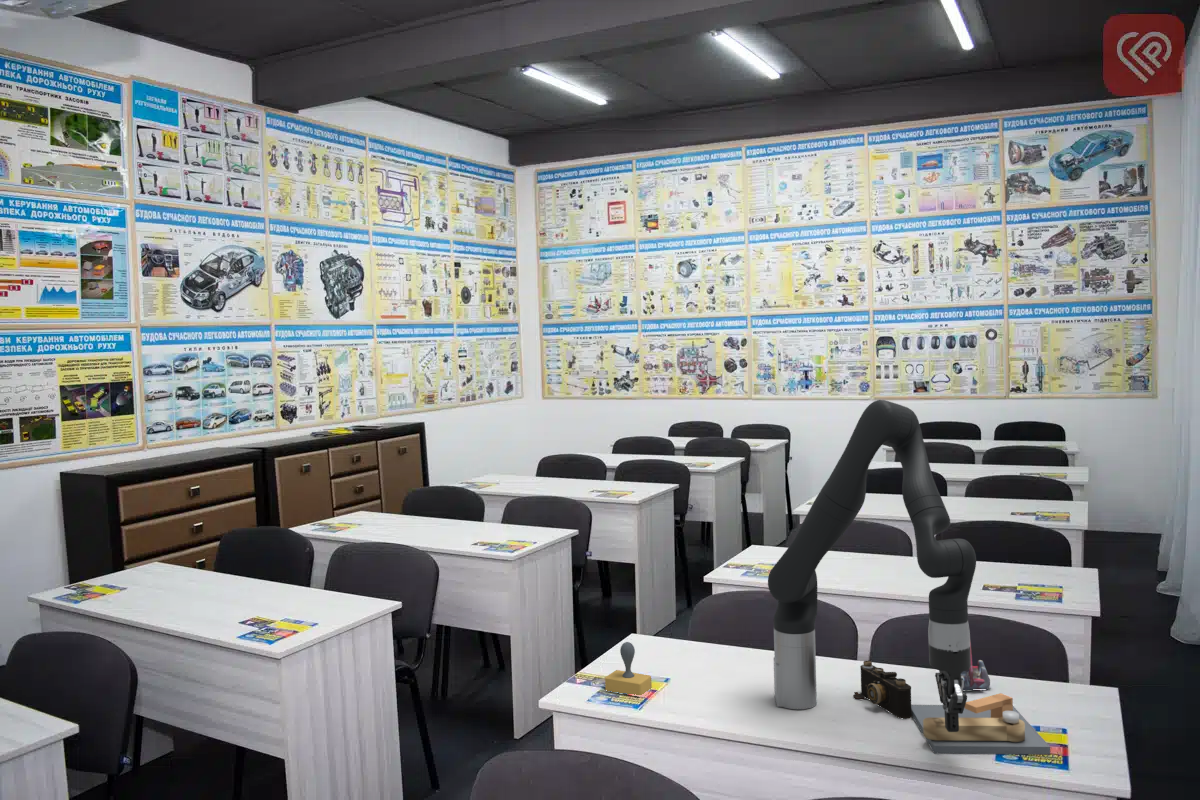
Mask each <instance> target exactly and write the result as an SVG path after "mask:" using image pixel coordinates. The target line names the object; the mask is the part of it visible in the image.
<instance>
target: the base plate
mask: <svg viewBox="0 0 1200 800" xmlns="http://www.w3.org/2000/svg"><path fill="white" fill-rule="evenodd" d="M911 714H912V717H911V718H912V719H913V721H914V722H915V724H916V725H917V727H918V729H919V730H920V732H921V733H922V735H923V720H924V719H925V718H945V710H944V709H943V704H911ZM958 715H959V718H991V710H987V711H984V712H980V713H974V712H972V711H970V710H967V709H965V707H964V711H963V713H962V714H960V713H958ZM1019 719H1020V720H1022V721H1024V723H1025V739H1024V740H1023V741H1020V742H1011V741H972V740H931V739H927V738H925V737H924V738H925V740H926V742H927V744H928V745H929V747H930V750H932V752H933V754H940V755H941V754H943V755H944V754H947V755H950V754H953V755H954V754H959V755H961V754H965V755H969V754H970V755H1051V746H1050V745H1049V744H1048V743H1047V741H1046V739H1044V738H1043V737H1042V736H1041V735H1040V734H1039V733H1038V732H1037V730H1035V728H1034V727H1033V726H1032V725H1031V724H1030V723H1029V721H1028V720H1027V719H1026V718H1025V717H1024V716H1023V715H1022V713H1020V712H1019V711H1018V709H1017V708H1016V707H1015V706H1014V705H1013V711H1003V721H1005V722H1007V723H1018V722H1019Z"/></svg>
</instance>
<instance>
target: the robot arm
mask: <svg viewBox="0 0 1200 800" xmlns="http://www.w3.org/2000/svg"><path fill="white" fill-rule="evenodd" d="M882 446H885V447H889V448H892V450H893V451H894V452H895V453H894V454H896V456H897V458H898V460H899V461H900V464H901V467H902V486H901V487H902V488H901V491H902V492H901V493H902V499H903V504H904V506H905V508H906V512H907V513H908V516H909V518H910V521H911V523H912V526H913V531H914V539H915V545H916V546H915V547H916V550H915V551H916V560H917V565H918V566H919V569H920V570H921V572H922V573H924V574H925V576H927V577H929V578H932V579H938V578H941V579H942V578H947V579H946V581H945V582H944V583H943V584H941V585H939V586H937V587H934V588H933V589H931V590H930V591H929V593H928V619H929V620H928V621H929V622H928V629H927V631H928V633H927V634H928V635H927V636H928V637H927V638H928V662H929V665H930V666H931V667H932V668H933V669H935V670H937V671H938V672H935V675H934V677H935V680H936V685H937V691H938V697H939V701H940V704H942V705H943V709H944V710H945V728H946V729H947V731H948V732H958V731H959V715H958V713H960V714H962V713H963V711H964V707H965V704H966V702H968V694H967V693H963V692H964V691H963V688H964V680H963V678H961V673H962V672H963V671H966V670H968V669H969V668H970V667H971V654H972V651H971V652H970V641H971V634H970V633H971V631H970V630H971V629H970V625H969V612H968V611H969V610H968V609H969V607H968V602H969V601H968V600H969V595H970V591H971V587H972V584H973V581H974V580H973V578H974V576H975V571H976V568H977V554H976V551H975V549H974V547H973V545H972V544H971V543H970V542H969V541H968V540H967V539H964V538H948V539H939V540H937V538H936V535H938V534H941V533H943V532H945V531H946V530H948V529H949V527H950V525H951V518H950V515H949V512H948V511H947V508H946V506H945V503H944V501H943V499H942V497H941V494H940V491H939V490H938V487H937V485H936V484H937V483H936V481H935V479H934V476H933V473H932V468H931V466H930V461H929V458H928V454H927V449H926V445H925V442H924V437H923V431H922V427H921V425H920V422H919V419H918V416H917V414H916V413H915V412H914V410H913V409H910V408H909V407H907V406H905V405H902V404H898V403H896V402H893V401H888V400H885V399H877V400H874V401H872V402H871V403H869V405H868V406H867V407H865V409H864V410H863V412H862V413H861V416H860V417H859V419H858V422H857V423H856V425H855V427H854V430H853V432H852V434H851V435H850V438H849V440H848V442H847V445H846V447H845V448H844V450H843V453H842V454H841V456H840V458H839V459H838V461H837V463H836V465H835V467H834V469H833V471H832V472H831V474H830V475H829V477H828V478H827V481H826V482H825V483H824V485H823V486H822V488H821V489H820V491H819V492H818V493H817V496H816V498H815V500H814V501H813V503H812V505H811V506H810V508H809V510H808V512H807V514H806V515H805V516H804V520H803V521H802V523H801V525H800V528H799V529H798V532H797V533H796V534H795V537H794V538H793V540H792V542H791V543H790V544H789V545H788V547H787V549H785V552H784V553H783V554H782V556H781V557H780V558H779V559H778V560H777V561H776V563H775V564H774V566H773V567H772V568H771V569H770V571H769V573H768V577H767V587H768V591H769V593H770V595H771V596H772V597H773V598H774V600H776V601H777V607H776V611H775V613H774V615H773V645H774V646H773V648H774V650H773V651H774V654H773V655H774V657H773V682H774V683H773V688H774V689H773V690H774V700H775V705H776V707H779V708H785V709H790V710H806V709H810V708H811V709H812V708H813V707H816V705H817V703H818V702H817V701H818V700H817V696H818V695H817V693H818V692H817V665H816V663H817V662H816V660H817V659H816V656H817V655H816V654H817V653H816V618H817V615H818V575H817V572H816V569H817V568H818V565H819V564H820V563H821V561H822V560H823V558H824V557H825V555H826V554H827V553H828V552H829V551H830V550H831V549H832V548H833V546H834V545H835V544H837V542H839V540H840V539H841V537H843V536H844V535H845V533H846V531H847V530H848V529H849V527H850V526H851V525H852V524H853V522H854V521H855V519H856V517H857V516H858V514H859V512H860V511H861V510H862V507H863V505H864V503H865V500H866V499H865V498H866V494H867V476H868V470H869V467H870V465H871V462H872V461H873V459H874V457H875V456H876V454H877V452H878V451H879V449H880V448H881V447H882Z"/></svg>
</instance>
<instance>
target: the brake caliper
mask: <svg viewBox="0 0 1200 800" xmlns="http://www.w3.org/2000/svg"><path fill="white" fill-rule="evenodd" d="M970 652H971V667H970V668H969V669H968V670H966V671H963V672H962V673H961V678H963V680H964V688H963V690H972V691H974V690H973V689H987V688H988V689H989V687H991V679H990V676H989V674H988V671H987V669H986V666H985V664H984V661H983V660H981V659H979V660H977V665H973V655H972V642H971V640H970ZM988 689H987V690H988Z"/></svg>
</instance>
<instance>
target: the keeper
mask: <svg viewBox="0 0 1200 800" xmlns="http://www.w3.org/2000/svg"><path fill="white" fill-rule="evenodd" d="M1013 700H1014V699H1013V697H1012V696H1009V695H1007V694H1005V693H1001V692H1000V693H997V694H992V695H989V696H986V697H985V696H984V697H981V698H978V699H974V700H971V701H966V704H965V709H967V710H970V711H972V712H974V713H980V712H984V711H987V710H991V718H1001V717H1003V711H1013V706H1014V704H1013V703H1014V702H1013Z"/></svg>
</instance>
